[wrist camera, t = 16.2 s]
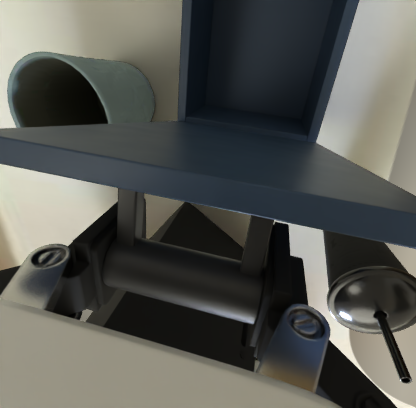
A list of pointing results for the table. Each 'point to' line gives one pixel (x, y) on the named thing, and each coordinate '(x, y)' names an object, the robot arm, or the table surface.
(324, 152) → the lid
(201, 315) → the gaming console
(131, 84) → the green tapered pot
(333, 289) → the drinking cup
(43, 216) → the table surface
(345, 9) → the box
